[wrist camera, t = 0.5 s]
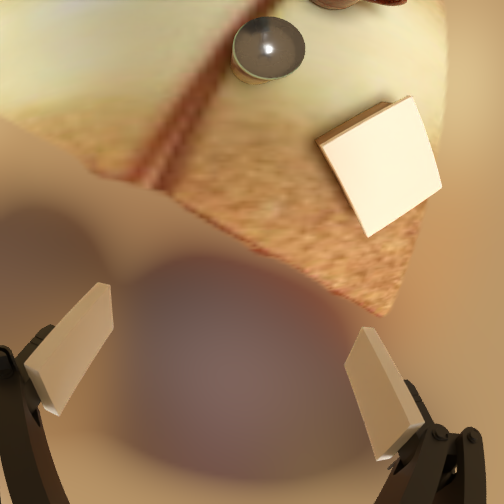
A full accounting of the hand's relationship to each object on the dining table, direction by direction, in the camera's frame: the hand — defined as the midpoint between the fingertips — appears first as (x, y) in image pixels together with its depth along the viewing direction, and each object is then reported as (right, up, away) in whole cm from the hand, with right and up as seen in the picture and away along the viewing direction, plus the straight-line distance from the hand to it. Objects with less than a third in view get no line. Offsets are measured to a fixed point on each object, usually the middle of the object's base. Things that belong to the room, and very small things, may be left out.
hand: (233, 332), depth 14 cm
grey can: (+1, +27, +15) cm, 31 cm away
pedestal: (+18, +18, +23) cm, 34 cm away
